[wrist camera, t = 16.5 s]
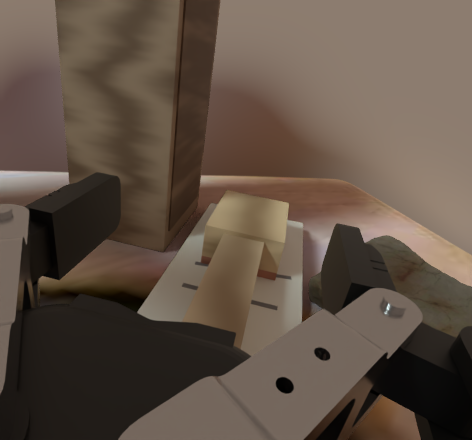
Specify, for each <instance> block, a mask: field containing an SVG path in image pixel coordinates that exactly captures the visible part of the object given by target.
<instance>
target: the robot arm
mask: <svg viewBox="0 0 472 440" xmlns="http://www.w3.org/2000/svg"><path fill="white" fill-rule="evenodd" d="M120 218H121V183H120V179H119V177H118V176H114V175H109V174H105V173H100V172H96V173H94V174H92V175H90V176H88V177H86V178H84V179H83V180H81V181H79V182H77V183H72V184H68V185H66V186H64V187H62V188H60V189H58V190H57V191H54V192H52V193H50V194H49V195H48V196H47V195H46V196H44V197H42V198H40V199H38V200H36V201H35V202H33V203H31V204H29V205H27V206H25V207H24V206H21V205H16V204H0V440H347V439H348V438H349V437H350V435H351V434H352V433H353V432H354V431H355V429H356V428H357V427H358V426H359V424H360V423H361V422H362V421H363V419H364V418H365V417H366V416H367V414H368V413H369V412H370V411H371V409H372V408H373V407H374V406H375V404H376V403H377V402H378V401H379V399H380V398H381V397H382V395H383V396H385V397H387V398H389V399H390V400H392V401H394V402H396V403H398V404H400V405H402V406H404V407H405V408H407V409H409V410H411V411H413V412H414V413H415V418H416V422H417V425H418V429H419V433H420V437H421V440H472V326H467V327H464V328H462V330H461V331H460V333H459V334H458V336H457V338H456V337H453V336H451V335H449V334H446V333H444V332H442V331H440V330H437V329H435V328H433V327H431V326H428V325H427V324H425V323H423V322H422V320H423V315H422V313H421V311H420V309H419V308H418V307H417V305H416V304H415V303H413V302H412V301H411V300H410V299H408V298H407V297H405V296H403V295H401V294H400V293H397V291H396V288H395V286H394V284H393V281H392V279H391V276H390V274H389V272H388V269H387V267H386V265H385V262H384V260H383V257H382V255H381V253H380V252H379V251H378V250H377V249H376V248H374V247H373V246H372V245H370V244H366V243H364V241H363V238H362V235H361V232H360V229H359V228H357V227H352V226H347V225H342V224H338V223H337V224H336V225H335V227H334V230H333V233H332V236H331V239H330V242H329V245H328V249H327V252H326V255H325V258H324V261H323V265H322V270H321V287H322V298H323V309H322V310H320V311H318V312H317V313H315V314H314V315H312V316H311V317H309V318H308V319H306V320H305V321H303V322H302V323H300V324H299V325H297V326H296V327H295V328H293V329H292V330H290V331H289V332H287V333H286V334H284V335H283V336H281V337H280V338H278V339H277V340H275V341H274V342H272V343H271V344H269V345H268V346H266V347H265V348H263V349H262V350H260V351H259V352H258V353H256V354H255V355H253V356H250V355H249V354H248V353H246V352H244V351H243V350H241V349H240V348H238V347H236V346H234V342H235V337H236V332H232V331H228V330H224V329H220V328H216V327H212V326H208V325H204V324H200V323H192V322H174V321H156V320H151V319H148V318H146V317H144V316H142V315H140V314H138V313H136V312H134V311H132V310H131V309H129V308H127V307H125V306H123V305H121V304H119V303H116V302H112V301H108V300H104V299H100V298H96V297H92V296H88V295H84V294H79V295H78V296H77V297H76V298H75V299H74V300H73V302H72V303H71V304H56V305H47V306H41V307H40V285H39V278H40V277H41V276H45V277H49V278H53V279H57V280H60V279H61V278H62V277H63V276H65V275H66V274H67V273H68V272H69V271H70V270H71V269H72V268H74V267H75V266H76V265H77V264H78V263H79V262H80V261H81V260H83V259H84V258H85V257H86V256H87V255H88V254H89V253H90V252H92V251H93V250H94V249H95V248H96V247H97V246H98V245H99V244H101V243H102V242H103V241H104V240H105V239H106V238H107V237H108V236H110V235H111V234H112V233H113V232H114V231H115V230H116V229H117V227H118V225H119V222H120Z"/></svg>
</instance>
